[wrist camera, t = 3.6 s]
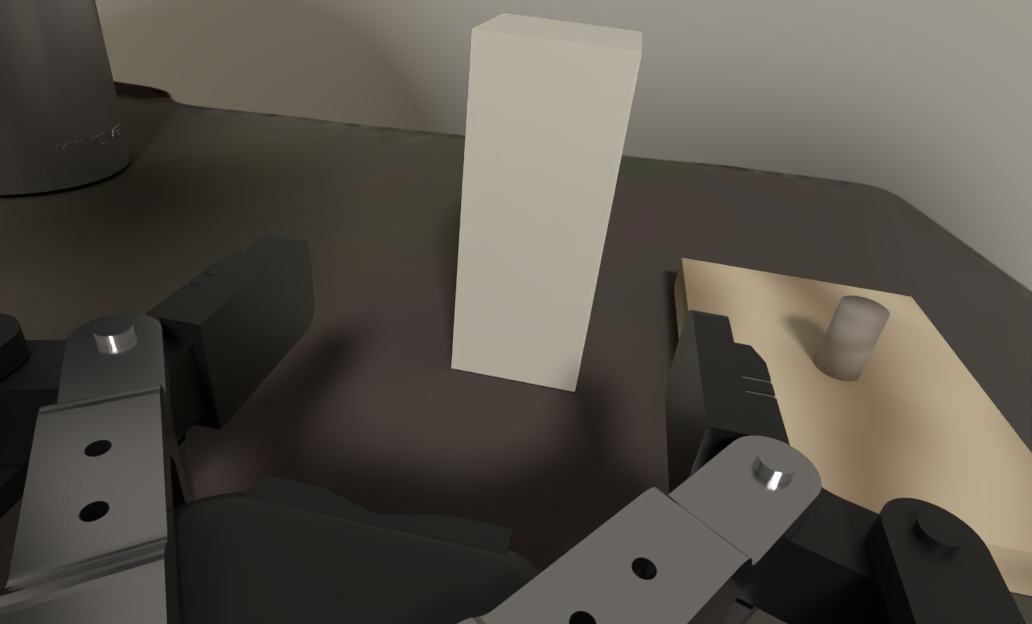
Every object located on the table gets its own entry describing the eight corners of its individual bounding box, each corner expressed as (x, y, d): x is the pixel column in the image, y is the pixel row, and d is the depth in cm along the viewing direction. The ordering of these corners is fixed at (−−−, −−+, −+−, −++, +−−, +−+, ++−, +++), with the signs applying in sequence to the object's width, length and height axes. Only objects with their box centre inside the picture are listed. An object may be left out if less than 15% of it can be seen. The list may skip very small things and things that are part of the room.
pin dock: (695, 525, 17) (738, 414, 15) (673, 286, 29) (695, 206, 27) (1086, 607, 16) (1190, 501, 14) (896, 325, 28) (937, 245, 26)
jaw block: (451, 368, 22) (472, 28, 16) (479, 306, 25) (504, 13, 20) (574, 391, 21) (641, 52, 16) (585, 325, 25) (642, 31, 19)
